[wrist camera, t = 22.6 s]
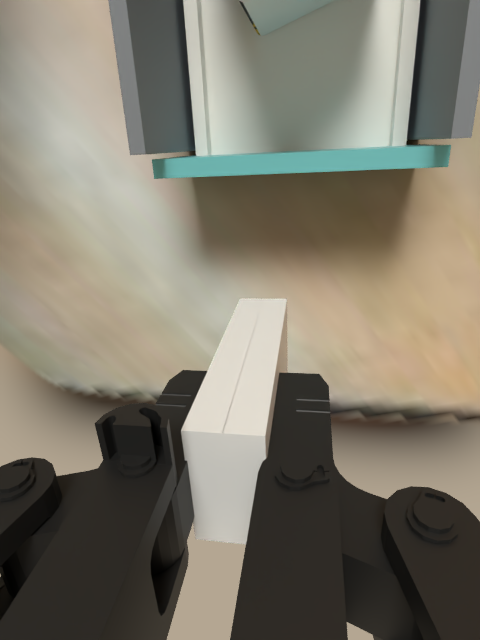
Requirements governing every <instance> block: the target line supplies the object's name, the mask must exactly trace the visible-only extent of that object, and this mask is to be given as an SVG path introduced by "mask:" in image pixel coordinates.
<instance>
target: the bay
mask: <svg viewBox="0 0 480 640" xmlns="http://www.w3.org/2000/svg"><path fill="white" fill-rule="evenodd" d="M108 1H109V8H110V15H111V22H112V29H113V36H114V43H115V50H116V58H117V65H118V72H119V79H120V86H121V93H122V100H123V107H124V114H125V121H126V129H127V136H128V143H129V150H130V155H141V154H157V153H171V152H186V151H196V149H195V137H194V125H193V113H192V101H191V89H190V77H189V65H188V53H187V41H186V29H185V17H184V5H183V0H108ZM479 84H480V0H420V9H419V19H418V30H417V40H416V50H415V60H414V70H413V80H412V91H411V101H410V111H409V121H408V131H407V140H417V139H451V138H471V136H472V130H473V123H474V117H475V110H476V104H477V97H478V91H479Z"/></svg>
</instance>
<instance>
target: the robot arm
mask: <svg viewBox="0 0 480 640" xmlns="http://www.w3.org/2000/svg"><path fill="white" fill-rule="evenodd" d="M95 426H96V431H97V435H98V439H99V443H100V447H101V452H102V456H103V462H102V463H101V465H100V466H99V468H98V469H94V470H90V471H86V472H79V473H73V474H68V475H62V476H56V473H55V471H54V468H53V465H52V463H50V462H48V461H47V460H45V459H41V458H27V459H20V460H16V461H13V462H11V463H8V464H6V465H3V466H1V467H0V574H1V577H0V640H166V639H167V636H168V632H169V629H170V625H171V622H172V618H173V615H174V611H175V608H176V604H177V601H178V597H179V594H180V591H181V587H182V584H183V580H184V577H185V573H186V570H187V566H188V555H189V554H188V546H187V539H188V536H189V533H190V530H191V526H192V523H193V524H194V532H195V538H196V539H201V540H211V541H219V542H228V543H238V544H246V548H245V554H244V560H243V566H242V572H241V578H240V584H239V590H238V596H237V602H236V608H235V614H234V620H233V626H232V632H231V638H230V640H348V638H347V624H346V622H349V623H351V624H353V625H355V626H357V627H359V628H361V629H363V630H365V631H367V632H369V633H371V634H373V638H374V640H480V522H479V520H478V519H477V518H476V516H475V515H474V514H473V513H471V511H470V510H469V509H468V508H467V507H466V506H465V505H464V504H463V503H462V502H460V501H458V500H457V499H455V498H453V497H452V496H450V495H448V494H447V493H444V492H441V491H438V490H435V489H432V488H428V487H408V488H404V489H401V490H397V491H396V492H395V493H394V494H393V495H392V496H391V497H389V498H388V499H384V498H381V497H379V496H376V495H373V494H370V493H367V492H365V491H363V490H361V489H358V488H356V487H355V486H353V485H352V484H350V483H349V482H347V481H346V480H345V479H344V478H343V477H342V475H341V474H340V473H339V472H338V470H337V468H336V467H335V464H334V460H333V451H332V435H331V418H330V402H329V386H328V385H327V383H326V382H325V381H324V380H323V378H322V377H321V376H320V374H304V373H287V299H248V298H240V300H239V302H238V304H237V306H236V308H235V311H234V313H233V315H232V317H231V320H230V322H229V324H228V326H227V329H226V331H225V333H224V335H223V338H222V340H221V342H220V344H219V347H218V349H217V351H216V353H215V355H214V358H213V360H212V362H211V364H210V367H209V369H208V371H191V370H183V371H181V372H180V373H179V374H177V375H176V376H175V377H173V378H172V379H170V380H169V382H168V383H167V385H166V387H165V389H164V390H163V392H162V395H160V397H159V399H158V400H157V402H156V405H151V404H146V403H139V404H129V405H125V406H122V407H119V408H116V409H114V410H112V411H110V412H108V413H106V414H105V415H103V416H102V417H101V418H100V419H99V420H98V421H97V422H96V423H95Z"/></svg>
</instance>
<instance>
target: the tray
mask: <svg viewBox="0 0 480 640" xmlns="http://www.w3.org/2000/svg"><path fill="white" fill-rule="evenodd" d="M183 5H184V17H185V29H186V41H187V53H188V65H189V77H190V89H191V101H192V113H193V125H194V137H195V149H196V156H182V157H173V158H163V159H153V160H152V164H153V173H154V179H159V178H184V177H208V176H233V175H258V174H283V173H307V172H332V171H357V170H382V169H406V168H431V167H448V163H449V156H450V149H451V145H427V144H416V145H406V141H407V131H408V121H409V111H410V101H411V91H412V80H413V70H414V60H415V50H416V40H417V30H418V19H419V9H420V0H334V1H332V2H330V3H328V4H326V5H324V6H322V7H320V8H318V9H316V10H314V11H312V12H310V13H308V14H306V15H304V16H302V17H300V18H298V19H296V20H294V21H292V22H290V23H288V24H286V25H284V26H282V27H280V28H278V29H276V30H274V31H272V32H270V33H268V34H266V35H263V36H260V35H258V34H257V32H256V30H255V29H254V27H253V25H252V23H251V22H250V20H249V18H248V16H247V14H246V13H245V11H244V9H243V7H242V6H241V4H240V2H239V0H183Z"/></svg>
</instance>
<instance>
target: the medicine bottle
mask: <svg viewBox="0 0 480 640" xmlns="http://www.w3.org/2000/svg"><path fill="white" fill-rule="evenodd" d="M332 1H334V0H239V2H240V4H241V6H242V7H243V9H244V11H245V13H246V14H247V16H248V18H249V20H250V22H251V23H252V25H253V27H254V29H255V30H256V32H257V34H258V35H260V36H263V35H266V34H268V33H270V32H272V31H274V30H276V29H278V28H280V27H282V26H284V25H286V24H288V23H290V22H292V21H294V20H296V19H298V18H300V17H302V16H304V15H306V14H308V13H310V12H312V11H314V10H316V9H318V8H320V7H322V6H324V5H326V4H328V3H330V2H332Z"/></svg>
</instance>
